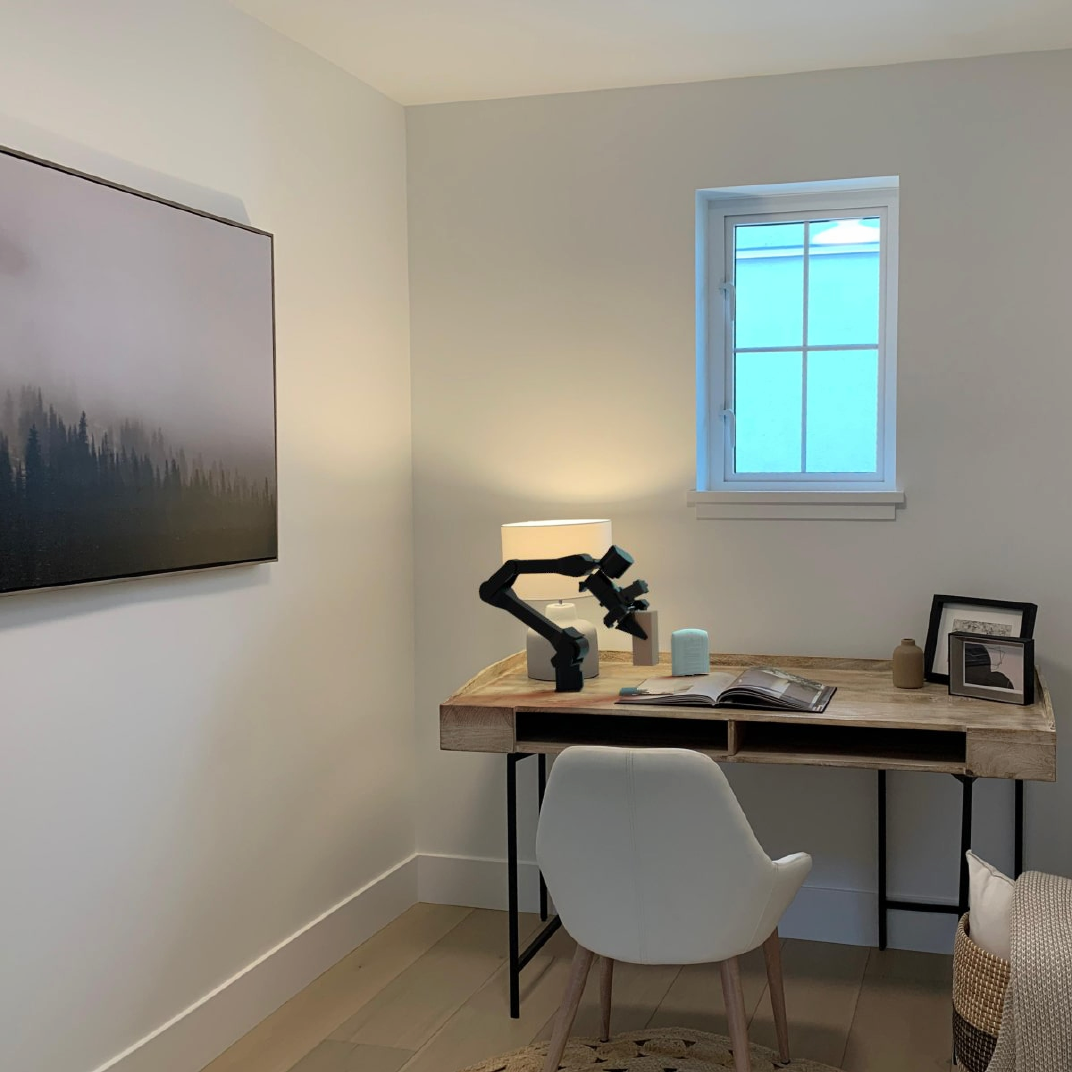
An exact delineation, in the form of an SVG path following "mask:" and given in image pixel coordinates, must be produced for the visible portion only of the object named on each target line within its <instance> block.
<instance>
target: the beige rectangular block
mask: <svg viewBox="0 0 1072 1072" xmlns="http://www.w3.org/2000/svg"><path fill="white" fill-rule="evenodd" d="M658 612H659V611H658V610H646V611H635V619H636V621H637V622H638V624H639V625H640V626H641V628H642V629H643V630H644V632H645V633H646V635H647V636H648V638H647V639H646V640H643V639H640V638H638V637H636V636H633V635H631V639H632V641H631V643H632V645H631V646H632V666H635V667H654V666H656V665H659V664H660V651H659V650H660V649H659V647H660V646H659V645H660V643H659V617H658V615H659V613H658Z"/></svg>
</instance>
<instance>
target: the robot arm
mask: <svg viewBox="0 0 1072 1072" xmlns="http://www.w3.org/2000/svg"><path fill="white" fill-rule="evenodd" d="M634 563H635V560H634V558H633V557H632V556H631V554H630V553H628V552H626V551H625V550H624V549H622V548H620V547H618V546H617V545H616V544H612V545H611V546H610V547H609V548H608V549H607V551H606V553H605V554H604V555H603V556H602V557H601V558H593V556H591V554H590V553H586V552H584V553H577V554H576V553H575V554H571V555H570V554H569V555H567V556H561V557H558V558H537V559H535V558H534V559H519V558H511V559H507V560H506V561H505V562H504V563H503V564H502V566H500V568H499V569H498V570H497V571H495V572H494V573H493V574H492V575H491V576H490V577H489V578H488V579H487V580H484V581H483V582H481V584H480V586H479V587H478V594H479V599H480V600H481V601H482V602H484V603H485V604H488V605H490V606H492V607H495V608H497V609H501V610H504V611H506V612H508V613H509V614H510V615H512V616H513V617H515V618H516V619H517V620H519V621H520V622H522V623H523V624H525V625H526V626H527V627H528V628H530V629H531V630H533V632H535V633H537V634H539V636H541V637H543V638H544V639H545V640H547V641H548V642H549V643H550V645H551V646H552V648H553V650H554V651H555V652H556V653H554V655H553V656H552V657H551V658H550V663H551V666H552V668H554V675H555V676H554V678H555V689H554V692H556V693H557V692H559V693H560V692H581V691H582V690H583V688H584V687H585V678H584V677H585V676H584V670H583V669H582V664H584V660H585V657H586V656H587V655H588V654H589V653H590V642H589V640H588V639H587V638H586V634H584V633H581V632H580V631H578V630H577V628H575V627H573V626H568V627H564V628H562V627H560V626H559V625H558V624H556V623H555V622H553V621H552V620H551V619H549V618H547V617H546V616H545V615H543V614H542V613H540V612H539V611H538V610H537V609H535V608H533V607H532V606H531V605H529V604H527V603H526V602H525V601H524V600H522V599H521V598H519V596H518V595H517V593H516V591H515V590H514V589H513V588H512V587H513V586H514V585H515V583H516V581H517V579H518V577H519V576H520V575H537V574H540V575H542V574H556V575H561V576H564V577H571V578H581V577H586V578H585V579H584V580H582V581H578V593H584V592H585V593H586V592H587V591H589V592H590V593H591V594H592V595H593V597H595V598H596V600H598V601H599V603H598V606H600V608H605V609H606V610H607V611H608V612H607V613H606V614H605V616H603V618H602V621H603V622H602V623H603V625H604V626H605V627H606V628H607V629H608V630H610V629H613V628H614V629H615V630H619V631H622V632H624V633H626V634H629V635H631V636H632V635H633V636H636V637H638V638H640V639H643V640H646V639H647V638H648V636H647V635H646V633H645V632H644V630H643V629H642V628H641V626H640V625H639V624H638V622H637V621H636V619H635V611H648V608H649V607H650V606H651V604H650V602H648V600H647V599H645V598H641V599H640V598H639V599H636V598H638V597H641V596H642V595H644V594H645V595H646V594H648V593H650V591H649V589H648V586H649V584H648V583H647V582H646V581H645V580H644V579H643V580H642V579H640V578H639V579H636V580H634V581H632V584H630V585H628V586H625V587H623V586H617V585H616V584H615V583H614V581H612V580H615V579H617V580H620V579H621V577H623V575H624V574H625V573H626V572H627V571H628V570H629V569H630V568H631V566H632V565H633V564H634ZM594 570H596V572H594ZM593 572H594V573H593ZM615 623H617V625H616V626H615V625H614V624H615Z"/></svg>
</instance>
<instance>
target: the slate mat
mask: <svg viewBox="0 0 1072 1072" xmlns="http://www.w3.org/2000/svg"><path fill="white" fill-rule="evenodd" d="M638 687H639V686H635V687H634V686H632V687H628V686H627V687H626V686H625V687H624V686H623V687H621V688H620V691H619V692H618V695H619V696H621V697H622V696H623V697H624V696H633V695H632V694H642V693H649V692H645V691H639V690H637V688H638Z"/></svg>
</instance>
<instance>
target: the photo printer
mask: <svg viewBox="0 0 1072 1072" xmlns="http://www.w3.org/2000/svg"><path fill="white" fill-rule="evenodd" d="M670 636H671V638H670V653H671V654H670V658H671V659H670V660H671V661H670V663H671V664H670V665H671V677H686V676H685V675H692V676H695V675H694V674H701V673H709V672H710V646H709V645H710V643H709V642H710V641H709V634H708V631H706V630H703V629H698V628H684V629H679V630H676V631H673V632H672V633H671V635H670Z"/></svg>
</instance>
